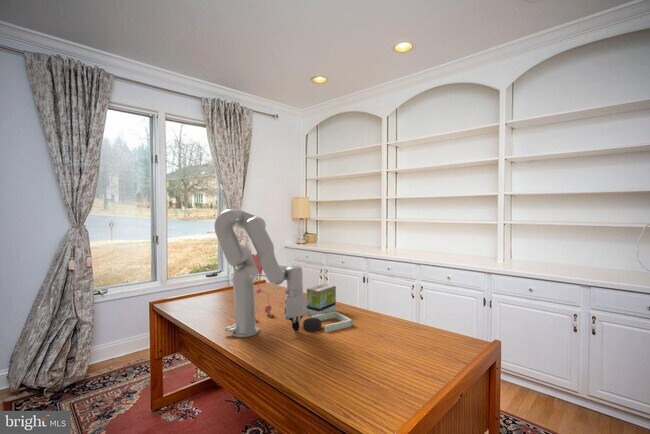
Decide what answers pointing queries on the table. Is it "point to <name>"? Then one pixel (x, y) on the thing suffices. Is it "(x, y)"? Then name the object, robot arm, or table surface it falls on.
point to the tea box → (321, 299)
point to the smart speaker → (312, 324)
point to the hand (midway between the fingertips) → (295, 329)
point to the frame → (335, 326)
